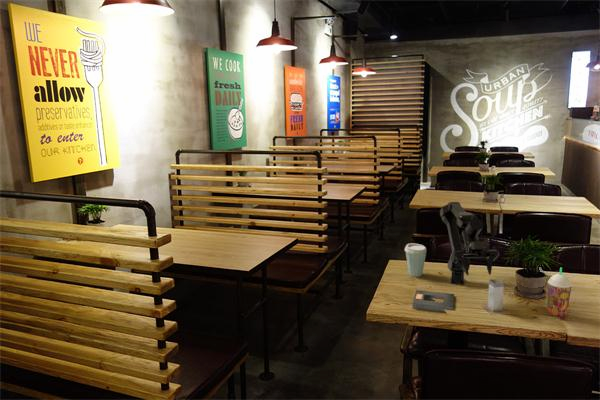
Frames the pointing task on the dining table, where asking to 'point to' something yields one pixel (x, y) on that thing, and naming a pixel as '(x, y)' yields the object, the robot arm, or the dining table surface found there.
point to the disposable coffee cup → (415, 259)
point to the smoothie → (558, 294)
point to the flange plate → (432, 301)
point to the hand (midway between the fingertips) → (479, 274)
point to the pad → (494, 312)
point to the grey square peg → (495, 295)
